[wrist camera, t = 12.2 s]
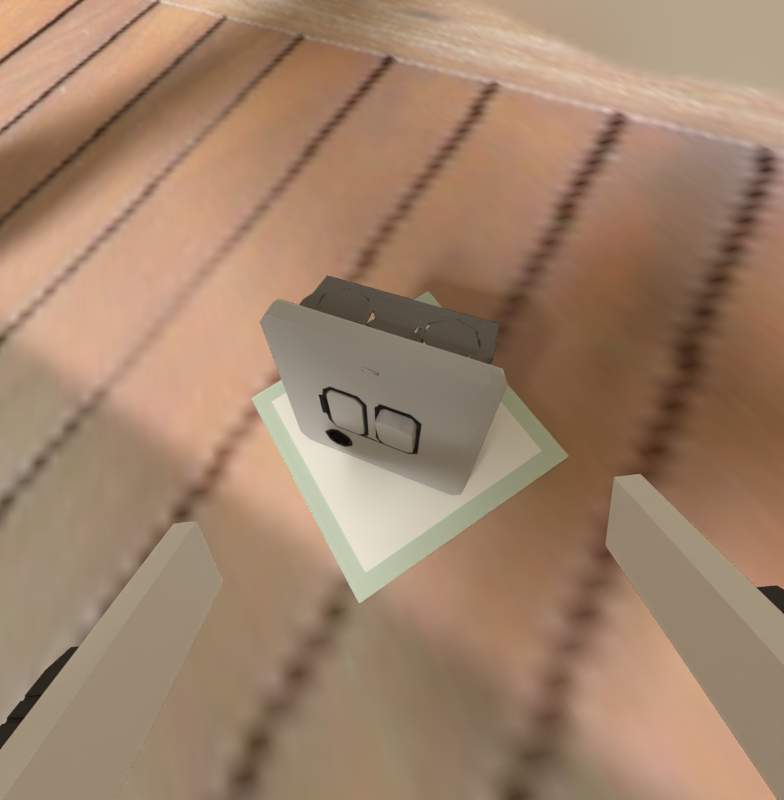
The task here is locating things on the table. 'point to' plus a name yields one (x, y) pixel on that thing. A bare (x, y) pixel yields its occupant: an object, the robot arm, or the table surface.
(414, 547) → the board
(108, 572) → the table surface
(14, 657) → the table surface
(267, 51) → the table surface
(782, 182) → the table surface
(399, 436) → the electrical switch
